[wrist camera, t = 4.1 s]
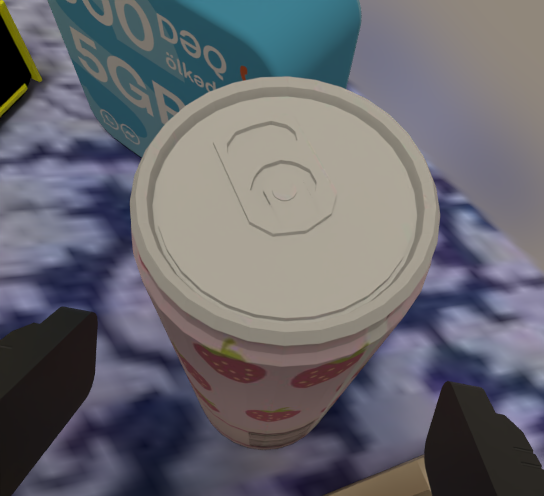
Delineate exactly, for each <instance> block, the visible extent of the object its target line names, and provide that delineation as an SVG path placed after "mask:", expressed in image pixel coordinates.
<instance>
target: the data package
mask: <svg viewBox="0 0 544 496" xmlns="http://www.w3.org/2000/svg"><path fill="white" fill-rule="evenodd" d="M48 3H49V5H50V8H51V10H52V13H53V15H54V18H55V20H56V23H57V25H58V28H59V30H60V33H61V35H62V38H63V40H64V43H65V45H66V48H67V50H68V53H69V55H70V58H71V60H72V63H73V65H74V68H75V70H76V72H77V75H78V77H79V80H80V82H81V85H82V87H83V90H84V92H85V95H86V97H87V100H88V102H89V105H90V107H91V110H92V112H93V113H94V115H95V117H96V118H97V120H98V121H99V122H100V123H101V125H102V126H103V127H104V128H105V129H106V130H107V131H108V132H109V133H110V134H111V135H112V136H113V137H114V138H115V139H116V140H118V141H119V142H121V143H122V144H123V145H125V146H126V147H128V148H129V149H130V150H132V151H133V152H135V153H136V154H137V155H139V156H140V157H143V155H144V152H145V150H146V149H147V148H148V146H149V145H150V143H151V142H152V141H153V139H154V138H155V137H156V135H157V134H158V133H159V131H160V130H161V128H162V127H163V126H164V125H165V124H166V123H167V122H168V121H169V120H170V119H171V118H172V117H174V116H175V115H176V114H177V113H178V112H179V111H180V110H181V109H183V108H184V107H185V106H186V105H188V104H189V103H191V102H193V101H195V100H196V99H198V98H200V97H201V96H203V95H205V94H206V93H208V92H210V91H213V90H216V89H218V88H221V87H224V86H226V85H229V84H232V83H235V82H240V81H245V80H250V79H255V78H260V77H296V78H304V79H312V80H318V81H321V82H325V83H328V84H332V85H335V86H339V87H342V88H344V89H346V87H347V82H348V78H349V74H350V69H351V65H352V61H353V56H354V52H355V48H356V43H357V39H358V35H359V30H360V26H361V7H360V2H359V0H48Z"/></svg>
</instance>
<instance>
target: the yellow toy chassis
mask: <svg viewBox="0 0 544 496" xmlns="http://www.w3.org/2000/svg"><path fill="white" fill-rule="evenodd" d="M31 78H32V79H34V80H36V81H38V82H41V81H42V78H41V76H40V74H39V72H38V70H37V68H36V66H35V64H34V62H33V60H32V58H31V56H30V54H29V52H28V49H27V47H26V45H25V43H24V41H23V39H22V37H21V35H20V33H19V31H18V29H17V27H16V25H15V23H14V21H13V19H12V17H11V15H10V13H9V11H8V9H7V7H6V5H5V3H4V1H3V0H0V118H1V117H2V116H3V115H4V114H5V113H6V112H7V111H8V110H9V109H10V108H11V107H12V106H13V105H14V104H15V103H16V102H17V101H18V100H19V99H20V98H21V97H22V96H23V95H24V94H25V92H26V90H27V89H28V88H27V87H28V84H29V81H30V79H31Z"/></svg>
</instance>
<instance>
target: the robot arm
mask: <svg viewBox="0 0 544 496" xmlns="http://www.w3.org/2000/svg"><path fill="white" fill-rule="evenodd" d="M97 326H98V321H97V315H96V314H95V313H94V312H89V311H84V310H79V309H74V308H68V307H60V308H59V309H58V310H56V311H55V312H54V313H53V314H52V315H50V316H49V317H48V318H47V319H46V320H44V321H43V322H42V323H41V324H38V323H32V324H30V325H27V326H24V327H22V328H19V329H17V330H14V331H12V332H10V333H9V334H8V335H7V336H5V337H4V338H3V339H1V340H0V496H11V495H12V494H13V493H14V491H15V490H16V489H17V487H18V486H19V485H20V484H21V482H22V481H23V480H24V478H25V477H26V476H27V474H28V473H29V472H30V471H31V469H32V468H33V467H34V465H35V464H36V463H37V461H38V460H39V459H40V458H41V456H42V455H43V454H44V452H45V451H46V450H47V449H48V447H49V446H50V445H51V443H52V442H53V441H54V439H55V438H56V437H57V436H58V434H59V433H60V432H61V430H62V429H63V428H64V426H65V425H66V424H67V423H68V421H69V420H70V419H71V417H72V416H73V415H74V413H75V412H76V411H77V410H78V408H79V407H80V406H81V404H82V403H83V402H84V401H85V399H86V398H87V396H88V394H89V392H90V390H91V387H92V384H93V380H94V375H95V363H96V345H97ZM424 463H425V469H426V473H427V477H428V481H429V485H430V489H431V493H432V496H544V470H543V469H542V468H541V467H542V465H541V464H540V462H539V460H538V458H537V456H536V455H535V454H533V449H532V447H531V446H530V444H529V442H528V440H527V439H526V437H525V435H524V433H523V432H522V431H521V430H520V429H519V428H518V427H517V426H516V425H515V424H514V423H513V422H511V421H510V420H509V419H508V418H507V417H506V416H505V415H502V414H497V413H495V411H494V409H493V407H492V405H491V403H490V401H489V399H488V397H487V395H486V393H485V391H484V390H483V389H482V388H481V387H476V386H471V385H465V384H460V383H455V382H450V381H447V382H445V384H444V385H443V387H442V389H441V392H440V396H439V399H438V402H437V405H436V409H435V412H434V415H433V419H432V422H431V425H430V428H429V432H428V435H427V439H426V443H425V451H424Z"/></svg>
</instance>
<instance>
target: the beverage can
mask: <svg viewBox="0 0 544 496" xmlns="http://www.w3.org/2000/svg"><path fill="white" fill-rule="evenodd" d="M130 212H131V230H132V243H133V254H134V257H135V260H136V263H137V266H138V269H139V272H140V275H141V278H142V281H143V283H144V285H145V288H146V290H147V292H148V294H149V296H150V298H151V300H152V302H153V305H154V307H155V309H156V311H157V313H158V315H159V317H160V319H161V322H162V324H163V326H164V328H165V330H166V332H167V334H168V336H169V338H170V341H171V343H172V345H173V347H174V349H175V351H176V353H177V355H178V358H179V360H180V362H181V364H182V366H183V368H184V370H185V372H186V375H187V377H188V379H189V381H190V383H191V385H192V387H193V389H194V391H195V394H196V396H197V398H198V400H199V402H200V404H201V406H202V408H203V411H204V412H205V414H206V416H207V417H208V419H209V420H210V422H211V424H212V425H213V426H214V427H215V428H216V429H217V430H218V431H219V432H220V433H221V434H222V435H224V436H225V437H227V438H228V439H230V440H231V441H233V442H234V443H237V444H239V445H242V446H245V447H247V448H253V449H260V450H267V449H278V448H281V447H284V446H287V445H291V444H293V443H295V442H296V441H298V440H300V439H301V438H303V437H305V436H306V435H307V434H308V433H309V432H310V431H311V430H312V429H313V428H314V427H315V426H316V425H317V424H318V423H319V421H320V420H321V419H322V418H323V416H324V415H325V414H326V413H327V412H328V410H329V409H330V408H331V407H332V405H333V404H334V403H335V402H336V400H337V399H338V398H339V397H340V395H341V394H342V393H343V392H344V390H345V389H346V388H347V387H348V385H349V384H350V383H351V382H352V380H353V379H354V378H355V377H356V375H357V374H358V373H359V372H360V370H361V369H362V368H363V367H364V366H365V364H366V363H367V362H368V361H369V359H370V358H371V357H372V356H373V354H374V353H375V352H376V351H377V349H378V348H379V347H380V346H381V344H382V343H383V342H384V341H385V339H386V338H387V337H388V336H389V334H390V333H391V332H392V331H393V329H394V328H395V327H396V326H397V324H398V323H399V322H400V321H401V320H402V318H403V317H404V316H405V314H406V313H407V311H408V310H409V308H410V307H411V305H412V304H413V302H414V301H415V299H416V298H417V296H418V295H419V293H420V292H421V290H422V287H423V284H424V281H425V279H426V276H427V273H428V271H429V268H430V265H431V259H432V256H433V253H434V250H435V248H436V245H437V240H438V230H439V220H440V211H439V204H438V197H437V190H436V186H435V184H434V181H433V178H432V176H431V173H430V171H429V168H428V166H427V163H426V161H425V159H424V157H423V155H422V154H421V152H420V151H419V149H418V148H417V146H416V145H415V143H414V142H413V140H412V139H411V137H410V136H409V134H408V133H407V132H406V131H405V130H404V129H403V128H402V127H401V126H400V125H399V124H398V123H397V122H396V121H395V120H394V119H393V118H392V117H391V116H390V115H389V114H388V113H386V112H385V111H383V110H382V109H380V108H379V107H378V106H376V105H375V104H373V103H372V102H370V101H369V100H367V99H366V98H363V97H361V96H359V95H357V94H355V93H353V92H351V91H349V90H346V89H344V88H342V87H339V86H335V85H332V84H328V83H325V82H321V81H318V80H312V79H304V78H296V77H260V78H255V79H250V80H245V81H240V82H235V83H232V84H229V85H226V86H224V87H221V88H218V89H216V90H213V91H210V92H208V93H206V94H205V95H203V96H201V97H200V98H198V99H196V100H195V101H193V102H191V103H189V104H188V105H186V106H185V107H184V108H183V109H181V110H180V111H179V112H178V113H177V114H176V115H175V116H174V117H172V118H171V119H170V120H169V121H168V122H167V123H166V124H165V125H164V126H163V127H162V128H161V130H160V131H159V133H158V134H157V135H156V137H155V138H154V139H153V141H152V142H151V143H150V145H149V146H148V148H147V149H146V150H145V152H144V155H143V157H142V159H141V162H140V164H139V166H138V169H137V171H136V173H135V175H134V181H133V187H132V193H131V199H130Z"/></svg>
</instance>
